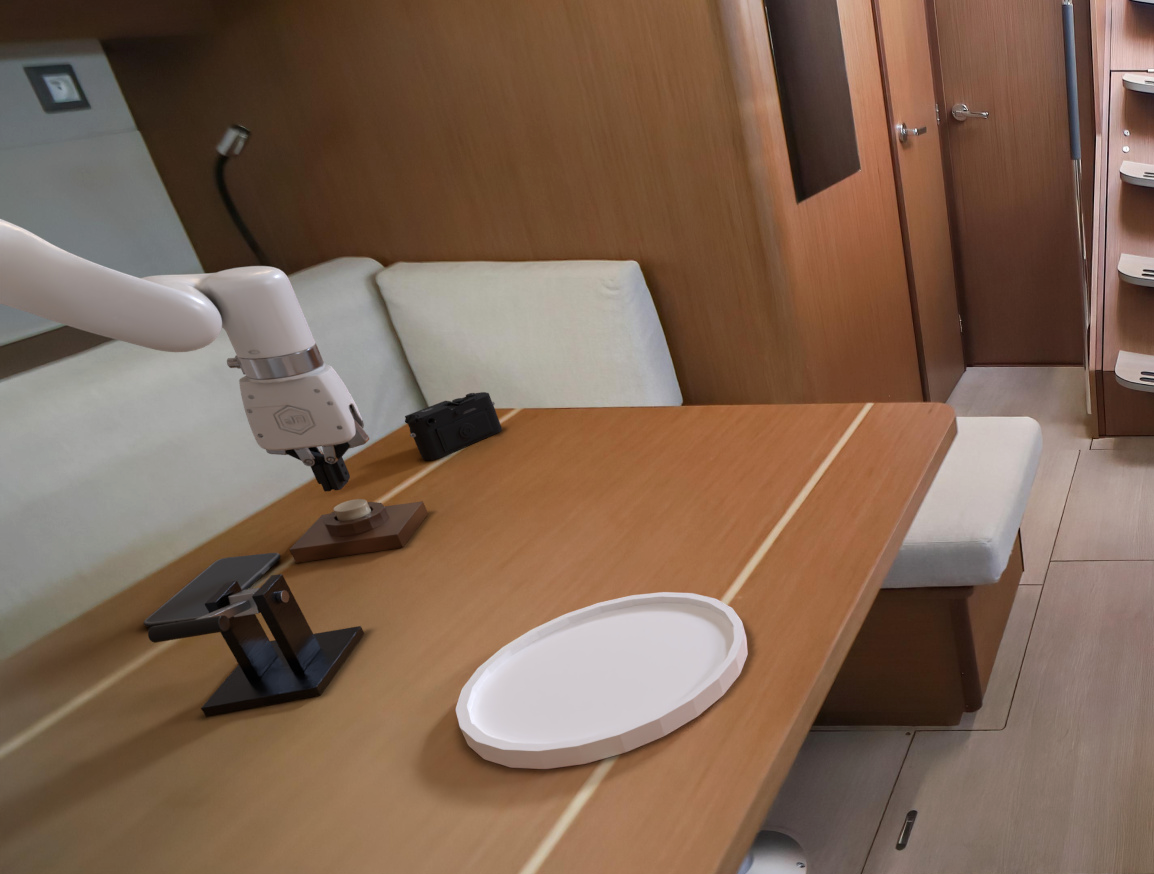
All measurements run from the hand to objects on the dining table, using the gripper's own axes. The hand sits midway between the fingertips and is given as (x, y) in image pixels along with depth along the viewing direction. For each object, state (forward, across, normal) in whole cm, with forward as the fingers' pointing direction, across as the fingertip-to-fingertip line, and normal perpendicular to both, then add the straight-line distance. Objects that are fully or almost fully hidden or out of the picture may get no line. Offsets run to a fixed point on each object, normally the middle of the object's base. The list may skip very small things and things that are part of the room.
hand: (337, 486), depth 132 cm
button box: (+8, 0, 0) cm, 9 cm away
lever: (-2, +4, -38) cm, 38 cm away
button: (+5, 0, 0) cm, 5 cm away
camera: (+8, +2, +32) cm, 33 cm away
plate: (+8, +40, -47) cm, 62 cm away
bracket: (+9, +4, -33) cm, 34 cm away
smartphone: (+9, -12, -10) cm, 18 cm away
